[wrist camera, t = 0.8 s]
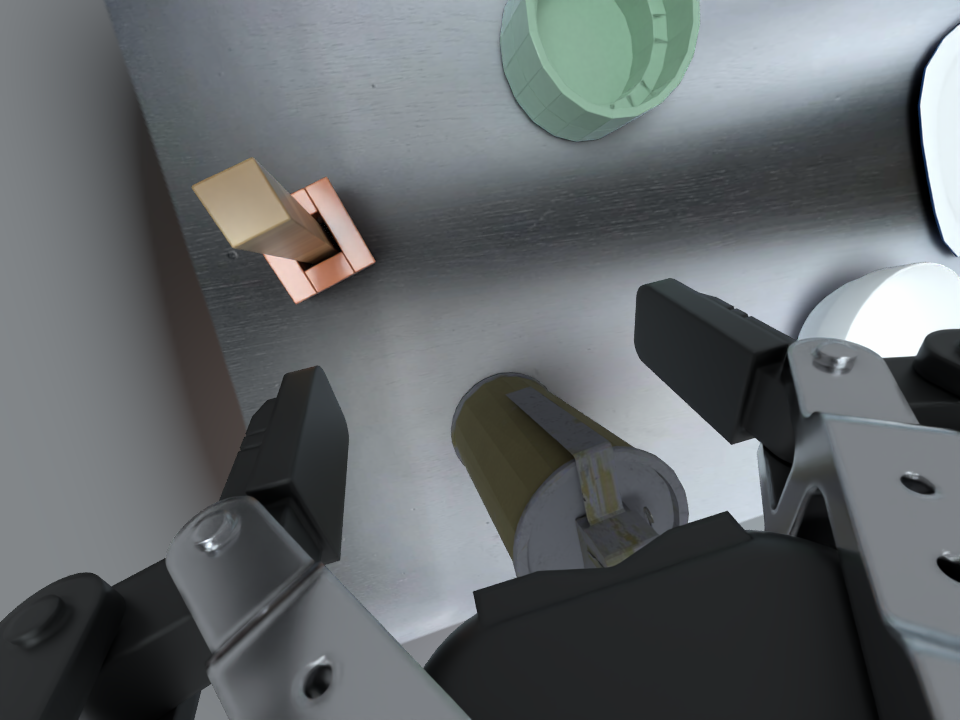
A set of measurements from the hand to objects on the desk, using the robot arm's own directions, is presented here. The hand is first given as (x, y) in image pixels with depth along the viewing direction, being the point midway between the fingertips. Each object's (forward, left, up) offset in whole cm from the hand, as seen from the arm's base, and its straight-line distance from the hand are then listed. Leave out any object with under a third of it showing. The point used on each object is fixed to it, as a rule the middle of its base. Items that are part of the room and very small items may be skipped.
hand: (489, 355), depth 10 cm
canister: (+14, +2, -25) cm, 29 cm away
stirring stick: (-7, -4, -25) cm, 26 cm away
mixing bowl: (-11, +22, -25) cm, 35 cm away
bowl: (+27, +39, -25) cm, 54 cm away
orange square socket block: (-7, -4, -25) cm, 26 cm away
